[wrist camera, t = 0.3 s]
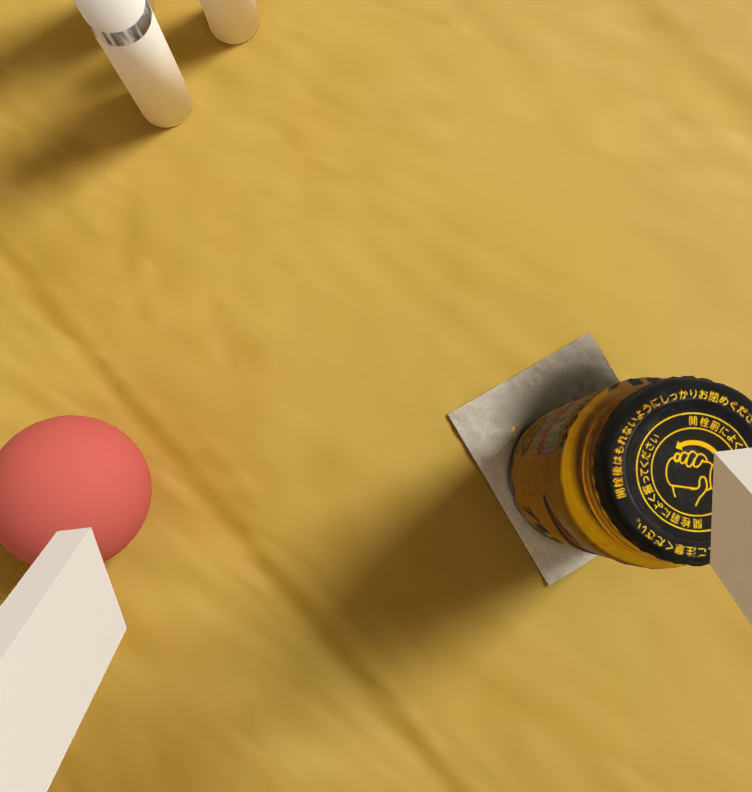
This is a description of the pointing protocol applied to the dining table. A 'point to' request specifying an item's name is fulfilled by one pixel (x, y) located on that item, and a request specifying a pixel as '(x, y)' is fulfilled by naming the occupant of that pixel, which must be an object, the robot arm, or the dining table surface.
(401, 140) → the dining table surface
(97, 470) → the ball
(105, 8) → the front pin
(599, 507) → the condiment
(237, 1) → the pin
